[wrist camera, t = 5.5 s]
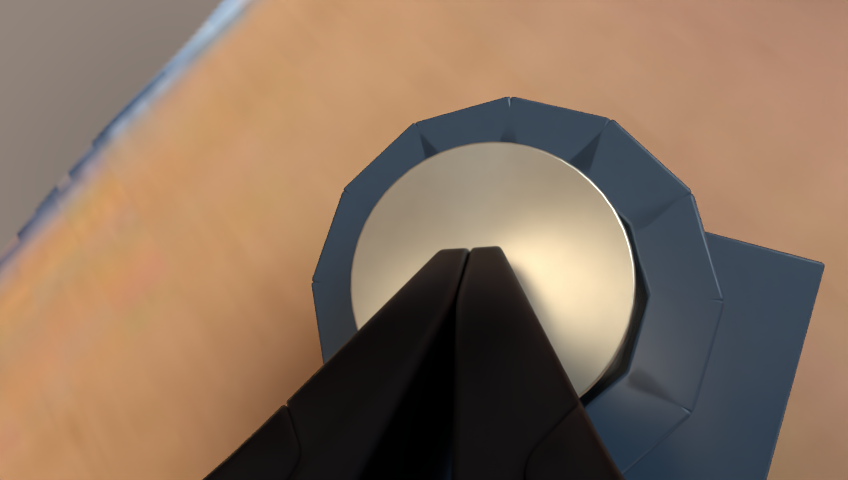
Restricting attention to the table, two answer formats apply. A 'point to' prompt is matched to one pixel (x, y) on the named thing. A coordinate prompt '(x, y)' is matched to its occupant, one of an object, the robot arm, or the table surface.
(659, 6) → the table surface
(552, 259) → the knob
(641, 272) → the push button box
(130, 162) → the table surface
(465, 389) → the robot arm
